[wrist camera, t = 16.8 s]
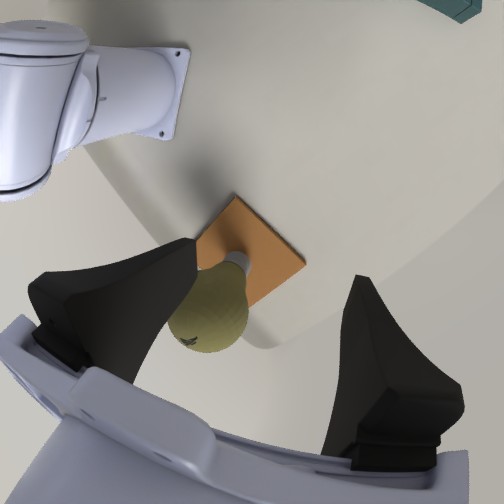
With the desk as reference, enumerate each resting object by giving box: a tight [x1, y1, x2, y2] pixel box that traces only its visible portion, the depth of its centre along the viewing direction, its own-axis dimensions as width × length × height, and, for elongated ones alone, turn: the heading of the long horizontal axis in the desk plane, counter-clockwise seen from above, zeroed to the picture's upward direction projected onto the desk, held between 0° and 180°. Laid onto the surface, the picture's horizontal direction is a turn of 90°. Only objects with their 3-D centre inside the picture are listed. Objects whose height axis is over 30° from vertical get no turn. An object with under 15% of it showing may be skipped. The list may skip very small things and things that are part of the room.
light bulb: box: [167, 251, 251, 353], centre depth 20 cm, size 6×6×10 cm
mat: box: [196, 196, 306, 308], centre depth 25 cm, size 8×8×1 cm
